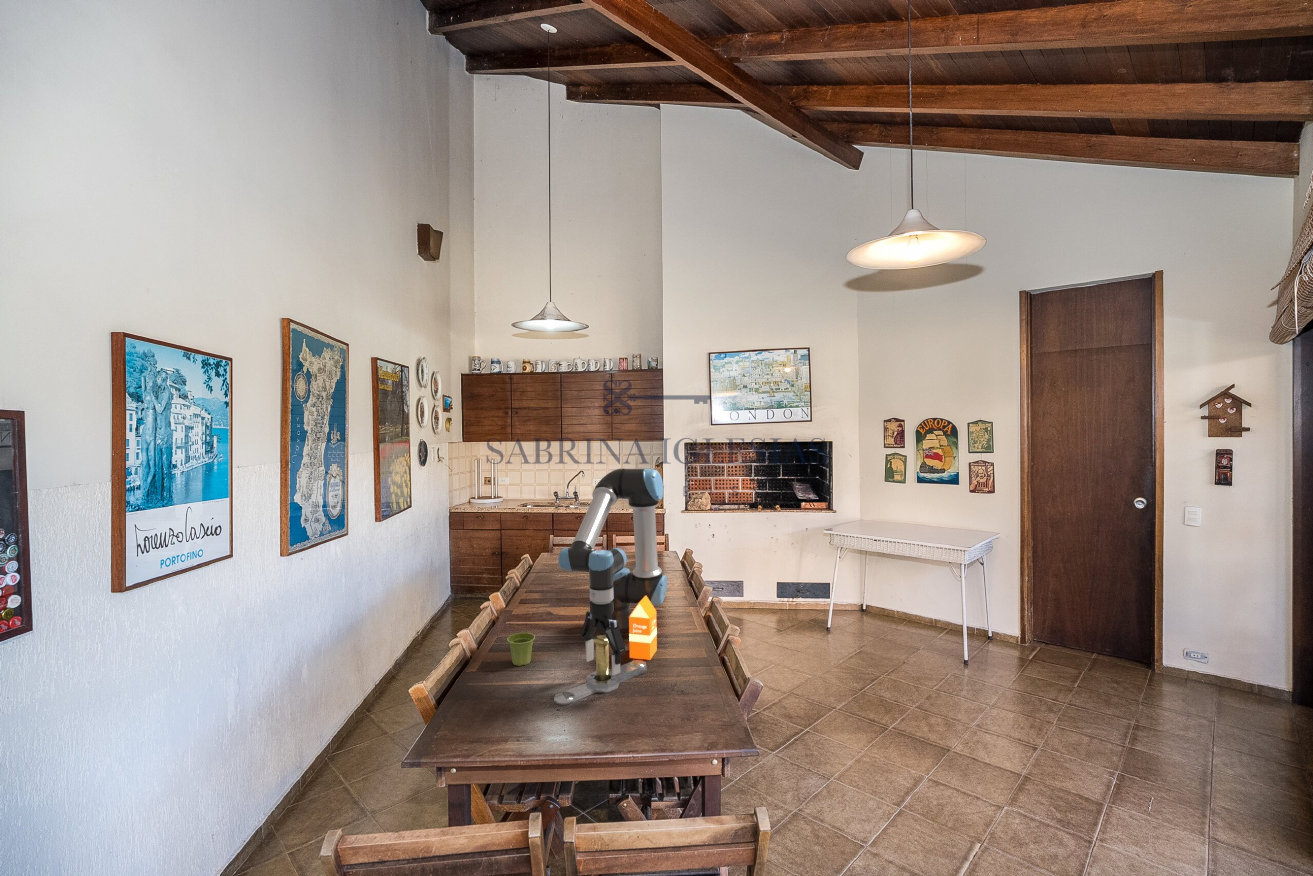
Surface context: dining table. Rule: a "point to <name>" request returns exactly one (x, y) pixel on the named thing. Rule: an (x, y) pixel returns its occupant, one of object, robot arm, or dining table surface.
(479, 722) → the dining table surface
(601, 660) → the pin
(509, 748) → the dining table surface
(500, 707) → the dining table surface
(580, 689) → the metal spinner bar
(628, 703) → the dining table surface
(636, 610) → the orange juice
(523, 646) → the plant pot
